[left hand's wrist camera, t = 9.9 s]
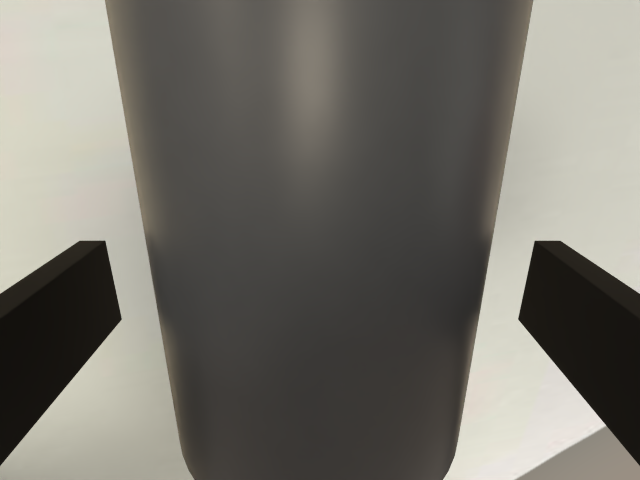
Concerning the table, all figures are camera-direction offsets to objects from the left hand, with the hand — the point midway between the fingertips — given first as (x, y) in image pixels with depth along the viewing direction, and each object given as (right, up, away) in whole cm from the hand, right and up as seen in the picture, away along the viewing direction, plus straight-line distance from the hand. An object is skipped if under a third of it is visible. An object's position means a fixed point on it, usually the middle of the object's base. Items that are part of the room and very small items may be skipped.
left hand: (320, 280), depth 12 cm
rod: (0, +10, -2) cm, 10 cm away
